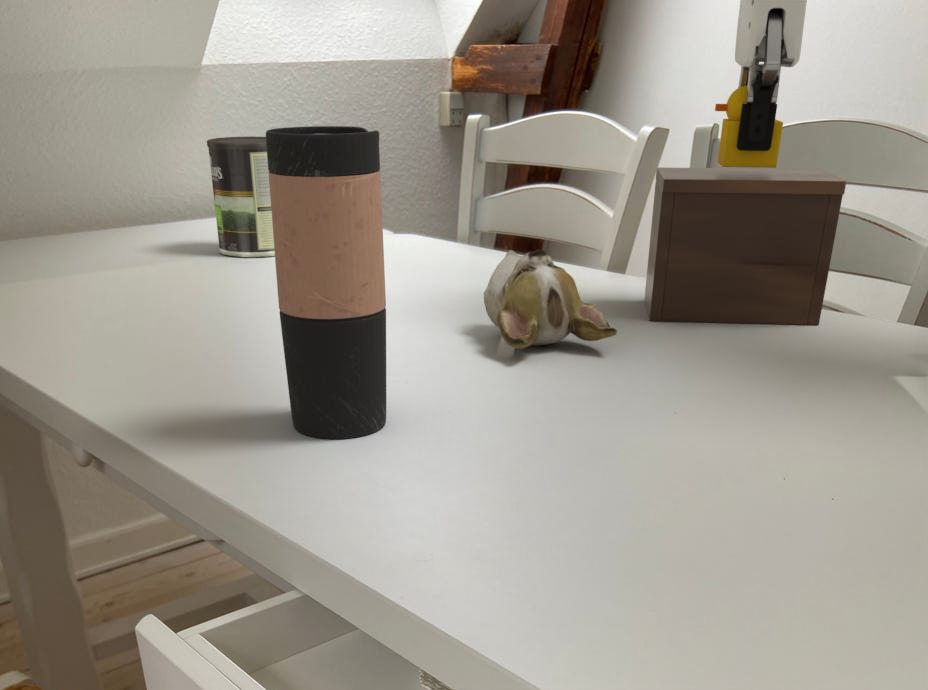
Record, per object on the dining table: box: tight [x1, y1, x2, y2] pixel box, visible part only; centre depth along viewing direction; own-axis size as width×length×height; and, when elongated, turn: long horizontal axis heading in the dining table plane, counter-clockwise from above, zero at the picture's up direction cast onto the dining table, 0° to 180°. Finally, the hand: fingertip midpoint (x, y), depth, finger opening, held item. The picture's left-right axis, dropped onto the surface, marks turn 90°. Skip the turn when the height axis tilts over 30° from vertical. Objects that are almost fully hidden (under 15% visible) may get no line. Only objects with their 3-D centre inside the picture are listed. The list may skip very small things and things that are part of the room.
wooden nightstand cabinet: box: [644, 167, 847, 326], centre depth 104 cm, size 11×17×14 cm, turn 83°
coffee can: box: [206, 136, 275, 258], centre depth 137 cm, size 10×10×14 cm
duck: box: [714, 86, 784, 169], centre depth 99 cm, size 6×4×7 cm
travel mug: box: [265, 125, 387, 440], centre depth 71 cm, size 8×8×20 cm
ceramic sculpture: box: [483, 249, 618, 350], centre depth 95 cm, size 11×9×15 cm
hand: (749, 145), depth 100 cm, fingers closed on duck, 4 cm apart
